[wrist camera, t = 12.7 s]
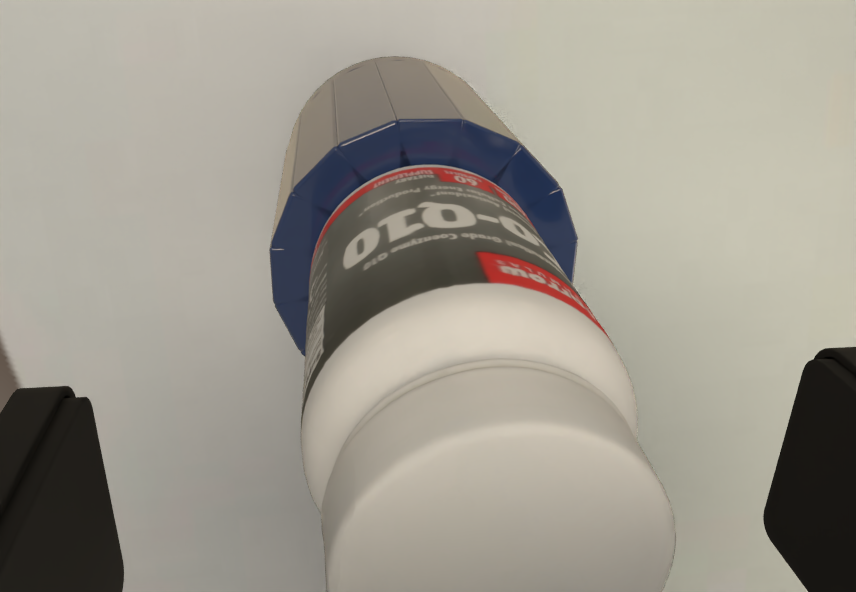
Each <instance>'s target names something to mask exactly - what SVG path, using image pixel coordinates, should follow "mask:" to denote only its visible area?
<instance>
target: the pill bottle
mask: <svg viewBox="0 0 856 592" xmlns="http://www.w3.org/2000/svg"><path fill="white" fill-rule="evenodd" d="M637 428H638V418H637V405H636V399H635V395H634V390H633V386H632V383H631V381H630V378H629V375H628V373H627V370H626V368H625V366H624V364H623V362H622V359H621V357H620V356H619V354H618V352H617V350H616V349H615V347H614V345H613V343H612V342H611V340H610V339H609V337H608V335H607V334H606V332H605V331H604V329H603V328H602V327H601V325H600V324H599V323H598V321H597V320H596V318H595V317H594V315H593V314H592V312H591V311H590V309H589V308H588V306H587V305H586V304H585V302H584V301H583V299H582V298H581V297H580V295H579V294H578V292H577V291H576V289H575V288H574V286H573V285H572V283H571V282H570V280H569V279H568V278H567V276H566V275H565V273H564V272H563V270H562V269H561V267H560V266H559V264H558V263H557V261H556V259H555V258H554V256H553V255H552V254H551V252H550V251H549V249H548V248H547V246H546V245H545V243H544V242H543V240H542V239H541V237H540V236H539V234H538V232H537V231H536V229H535V228H534V226H533V225H532V223H531V221H530V220H529V219H528V217H527V215H526V214H525V213H524V211H523V210H522V209H521V208H520V206H519V205H518V204H517V203H516V202H515V201H514V200H513V199H512V198H511V197H510V196H509V195H508V193H506V192H505V191H504V190H503V189H501V188H500V187H499V186H497V185H496V184H495V183H493V182H491V181H490V180H488V179H486V178H484V177H482V176H480V175H477V174H475V173H472V172H470V171H467V170H463V169H459V168H455V167H451V166H444V165H414V166H407V167H402V168H398V169H395V170H392V171H389V172H387V173H384V174H382V175H379V176H377V177H375V178H373V179H371V180H370V181H368V182H366V183H365V184H363V185H362V186H360V187H359V188H357V189H356V190H355V191H353V192H352V193H351V194H350V195H349V196H347V197H346V198H345V199H344V200H343V201H342V202H341V203H340V204H339V205H338V207H337V208H336V209H335V211H334V212H333V213H332V215H331V216H330V218H329V219H328V221H327V222H326V224H325V226H324V228H323V230H322V232H321V234H320V236H319V239H318V241H317V244H316V247H315V250H314V254H313V258H312V263H311V271H310V279H309V302H308V314H307V328H306V344H305V370H304V387H303V403H302V417H301V449H302V459H303V467H304V472H305V476H306V480H307V484H308V487H309V490H310V493H311V496H312V498H313V500H314V502H315V504H316V506H317V508H318V509H319V511H320V513H321V523H322V534H323V540H324V550H325V573H326V591H327V592H662V590H663V588H664V586H665V583H666V580H667V578H668V576H669V573H670V570H671V566H672V562H673V558H674V552H675V543H676V533H675V524H674V516H673V512H672V508H671V505H670V501H669V499H668V496H667V494H666V492H665V490H664V488H663V485H662V483H661V481H660V480H659V478H658V476H657V475H656V473H655V471H654V469H653V468H652V466H651V464H650V462H649V461H648V459H647V457H646V456H645V454H644V452H643V450H642V449H641V447H640V446H639V444H638V442H637Z"/></svg>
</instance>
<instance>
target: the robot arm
mask: <svg viewBox="0 0 856 592" xmlns="http://www.w3.org/2000/svg"><path fill="white" fill-rule="evenodd" d="M764 526H765V530H766V532H767V535H768V537H769V539H770V540H771V542H772V543H773V544H774V546H775V547H776V548H777V550H778V551H779V553H780V554H781V555H782V557H783V558H784V559H785V561H786V562H787V563H788V565H789V566H790V567H791V569H792V570H793V572H794V573H795V574H796V576H797V577H798V578H799V580H800V581H801V582H802V584H803V585H804V586H805V588H806V589H807V590H808V592H856V347H845V348H826V349H823V350H821V351H819V352H818V354H817V355H816V356H815V358H814V360H811V361H809V362H808V363H807V364H806V365H805V367H804V370H803V373H802V376H801V380H800V383H799V387H798V391H797V394H796V398H795V401H794V405H793V409H792V412H791V416H790V419H789V423H788V427H787V430H786V434H785V437H784V441H783V445H782V448H781V452H780V455H779V459H778V463H777V466H776V470H775V473H774V477H773V481H772V484H771V488H770V492H769V495H768V499H767V502H766V506H765V510H764ZM123 582H124V566H123V559H122V554H121V549H120V544H119V539H118V534H117V529H116V524H115V519H114V514H113V509H112V504H111V499H110V494H109V489H108V484H107V479H106V474H105V469H104V464H103V459H102V454H101V449H100V444H99V439H98V434H97V429H96V423H95V418H94V413H93V409H92V405H91V402H90V400H89V399H88V398H87V397H78V398H76V397H75V394H74V392H73V390H72V388H70V387H69V386H59V387H39V388H21V389H17V390H16V391H15V392H14V393H13V394H12V396H11V397H10V399H9V401H8V402H7V404H6V405H5V407H4V408H3V410H2V412H1V413H0V592H122V589H123Z"/></svg>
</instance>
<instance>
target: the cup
mask: <svg viewBox="0 0 856 592" xmlns="http://www.w3.org/2000/svg"><path fill="white" fill-rule="evenodd" d="M414 165H444V166H451V167H455V168H459V169H463V170H467V171H470V172H472V173H475V174H477V175H480V176H482V177H484V178H486V179H488V180H490V181H491V182H493V183H495V184H496V185H497V186H499V187H500V188H501V189H503V190H504V191H505V192H506V193H508V195H509V196H510V197H511V198H512V199H513V200H514V201H515V202H516V203H517V204H518V205H519V206H520V208H521V209H522V210H523V211H524V213H525V214H526V215H527V217H528V219H529V220H530V221H531V223H532V225H533V226H534V228H535V229H536V231H537V232H538V234H539V236H540V237H541V239H542V240H543V242H544V243H545V245H546V246H547V248H548V249H549V251H550V252H551V254H552V255H553V256H554V258H555V259H556V261H557V263H558V264H559V266H560V267H561V269H562V270H563V272H564V273H565V275H566V276H567V278H568V279H569V280H570V282H571V283H572V285H573V278H574V269H575V261H576V252H577V240H578V237H577V234H576V231H575V228H574V224H573V221H572V218H571V215H570V212H569V209H568V206H567V202H566V199H565V196H564V193H563V190H562V188H561V187H560V186H559V184H558V182H557V181H556V180H555V179H554V178H553V177H552V176H551V174H550V173H549V172H548V171H547V170H546V169H545V168H544V167H543V166H542V165H541V164H540V162H539V161H538V160H537V159H536V158H535V157H534V156H533V155H532V154H531V153H530V152H529V150H528V149H527V148H526V147H525V146H524V145H523V144H522V143H521V142H520V141H519V140H518V138H517V137H516V136H515V135H514V134H513V133H512V132H511V131H510V130H509V129H508V127H507V126H506V125H505V124H504V123H503V122H502V121H501V120H500V119H499V118H498V117H497V115H496V114H495V113H494V112H493V111H492V110H491V109H490V108H489V107H488V106H487V105H486V103H485V102H484V101H483V100H482V99H481V98H480V97H479V96H478V95H477V94H476V93H475V91H474V90H473V89H472V88H471V87H470V86H469V85H468V84H467V83H466V82H465V81H463V80H462V79H461V78H459V77H458V76H456V75H455V74H453V73H452V72H450V71H448V70H446V69H445V68H443V67H441V66H439V65H436V64H433V63H431V62H428V61H425V60H421V59H416V58H411V57H399V56H393V57H380V58H375V59H370V60H366V61H363V62H360V63H357V64H354V65H352V66H350V67H348V68H346V69H344V70H342V71H340V72H338V73H337V74H335V75H334V76H333V77H331V78H330V79H328V80H327V81H326V82H325V83H324V84H323V85H321V86H320V87H319V88H318V89H317V90H316V91H315V92H314V94H313V95H312V96H311V97H310V98H309V100H308V101H307V102H306V104H305V106H304V107H303V109H302V110H301V112H300V114H299V116H298V118H297V120H296V123H295V125H294V127H293V131H292V134H291V138H290V142H289V145H288V148H287V150H286V155H285V161H284V167H283V173H282V178H281V184H280V190H279V196H278V202H277V208H276V214H275V220H274V226H273V232H272V238H271V244H270V250H269V251H270V265H271V279H272V293H273V302H274V304H275V308H276V309H277V311H278V313H279V315H280V317H281V318H282V320H283V322H284V324H285V326H286V328H287V329H288V331H289V333H290V335H291V337H292V339H293V340H294V342H295V344H296V346H297V348H298V349H299V350H300V351H301V353H302V355H304V356H305V344H306V328H307V314H308V302H309V279H310V271H311V263H312V258H313V254H314V250H315V247H316V244H317V241H318V239H319V236H320V234H321V232H322V230H323V228H324V226H325V224H326V222H327V221H328V219H329V218H330V216H331V215H332V213H333V212H334V211H335V209H336V208H337V207H338V205H339V204H340V203H341V202H342V201H343V200H344V199H345V198H346V197H347V196H349V195H350V194H351V193H352V192H353V191H355V190H356V189H357V188H359V187H360V186H362V185H363V184H365V183H366V182H368V181H370V180H371V179H373V178H375V177H377V176H379V175H382V174H384V173H387V172H389V171H392V170H395V169H398V168H402V167H407V166H414Z"/></svg>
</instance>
